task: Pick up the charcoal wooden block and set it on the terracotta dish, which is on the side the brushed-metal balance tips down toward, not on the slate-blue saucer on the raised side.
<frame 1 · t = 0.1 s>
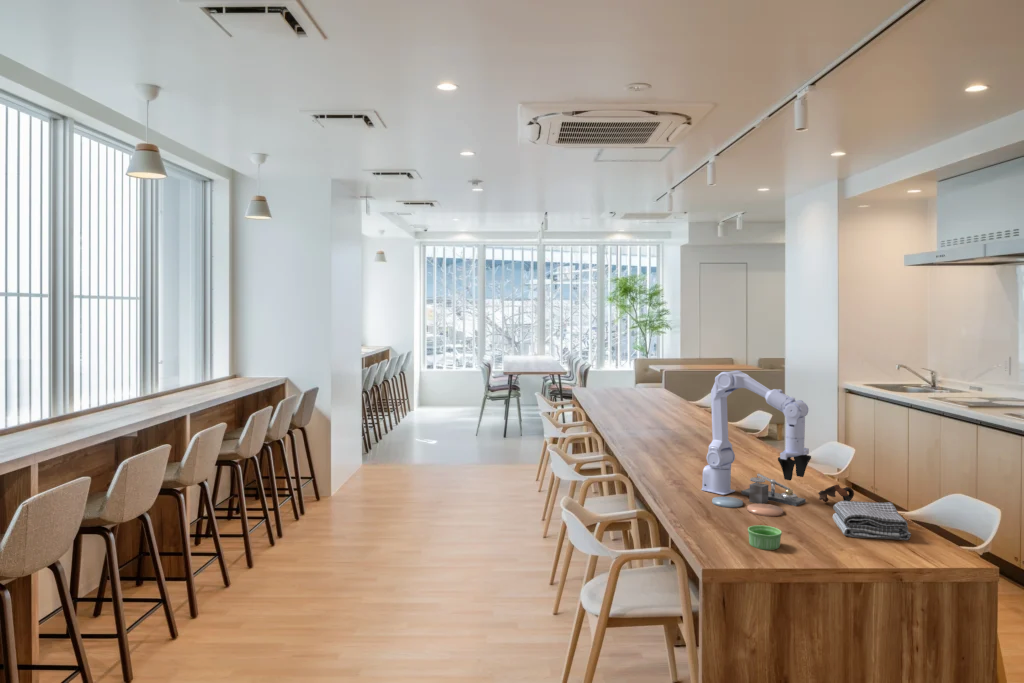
hand: (794, 478, 232), 10 cm above the table, fingers open, 7 cm apart
block: (758, 502, 239), on the table
ramekin: (764, 546, 195), on the table
towel: (869, 533, 208), on the table
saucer: (727, 503, 237), on the table
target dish: (765, 511, 228), on the table
balance: (772, 498, 244), on the table
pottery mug: (838, 506, 235), on the table
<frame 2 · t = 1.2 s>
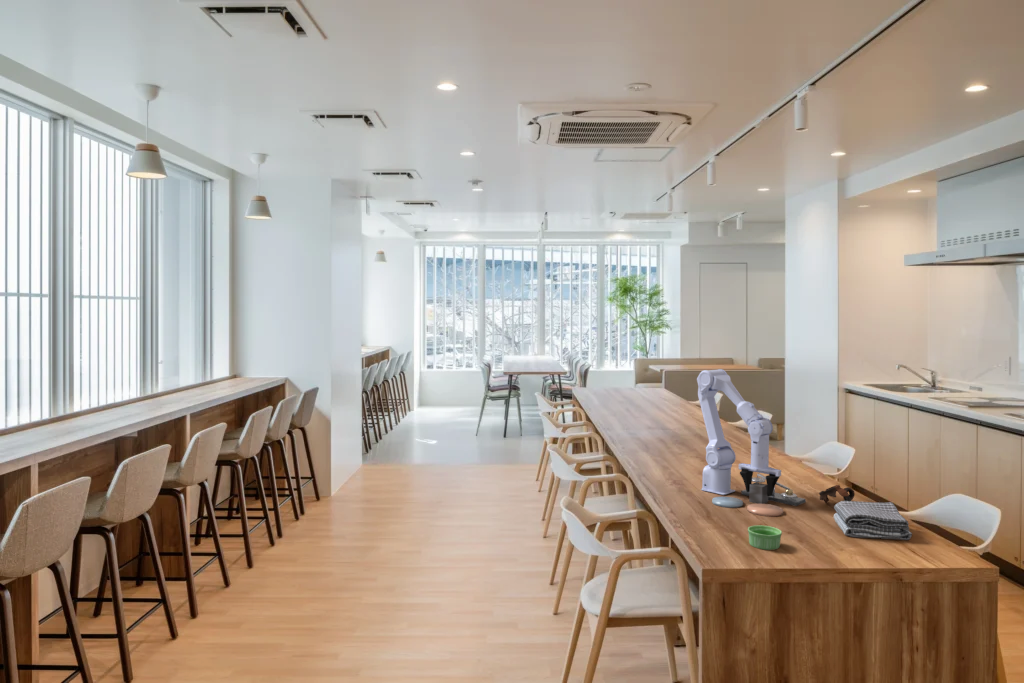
hand: (759, 493, 239), 3 cm above the table, fingers open, 7 cm apart
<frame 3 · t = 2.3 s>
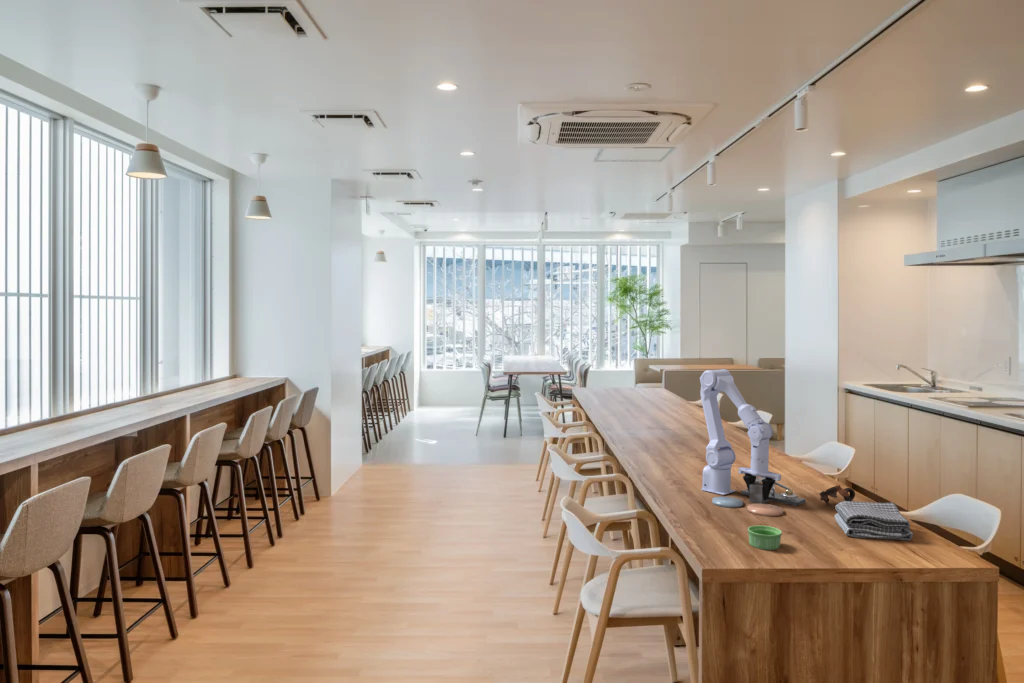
hand: (758, 497, 239), 1 cm above the table, fingers closed on block, 4 cm apart
block: (758, 501, 239), on the table, touching gripper
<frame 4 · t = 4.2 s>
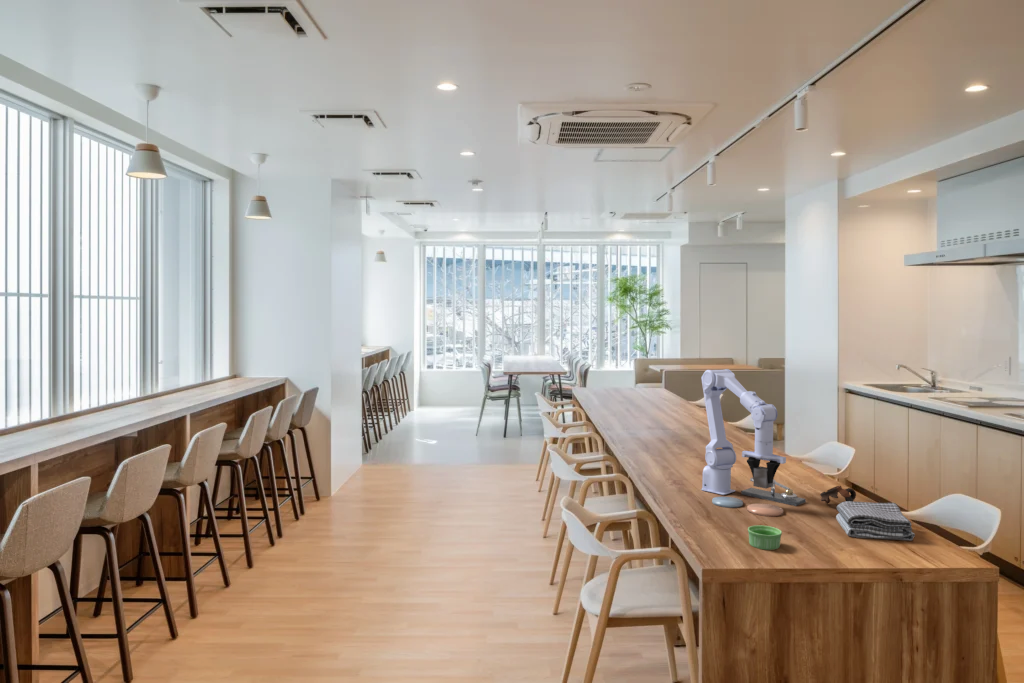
hand: (763, 481, 232), 9 cm above the table, fingers closed on block, 4 cm apart
block: (763, 486, 233), point 7 cm above the table, touching gripper
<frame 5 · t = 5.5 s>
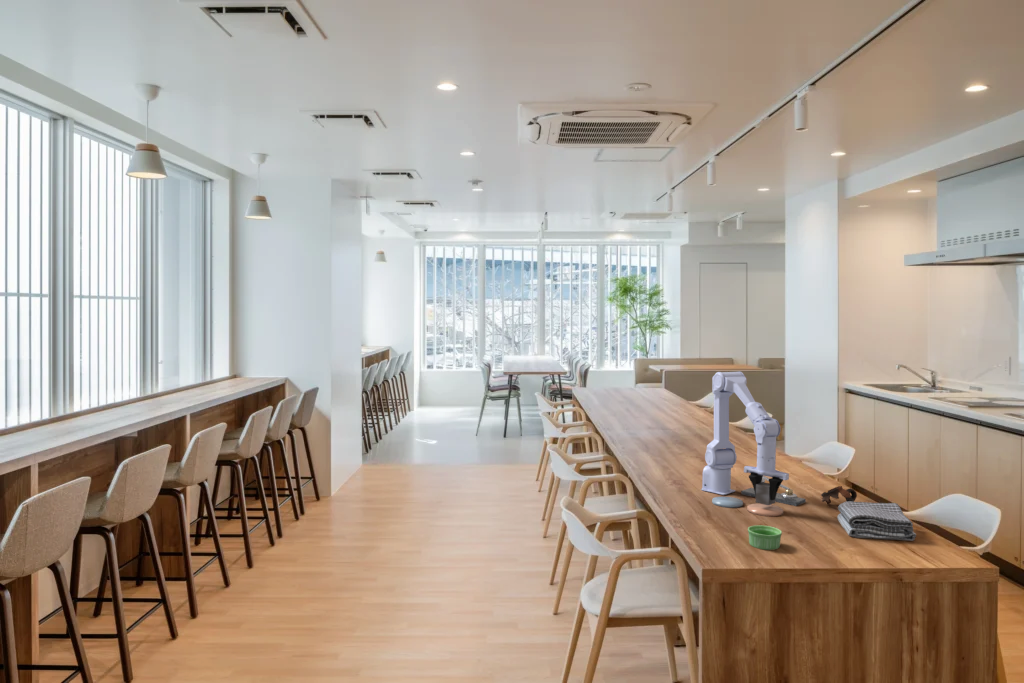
hand: (765, 497, 228), 4 cm above the table, fingers closed on block, 4 cm apart
block: (765, 502, 228), point 3 cm above the table, touching gripper
when the fingers open (4 cm above the table, at t = 6.1 s): block drops 2 cm, resting on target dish.
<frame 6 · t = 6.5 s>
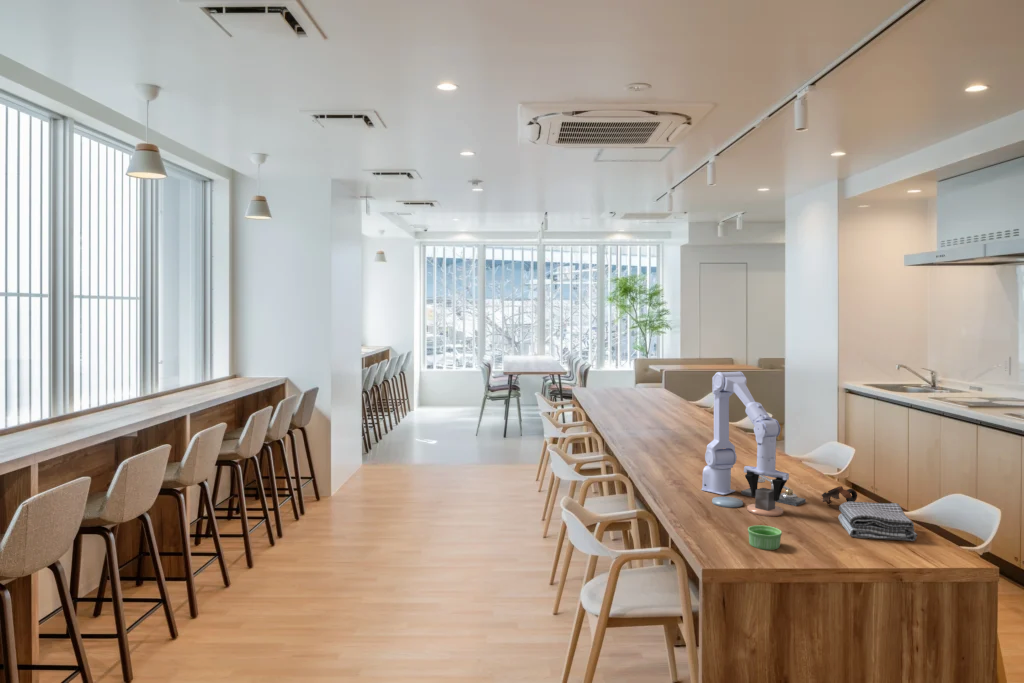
hand: (765, 497, 228), 4 cm above the table, fingers open, 7 cm apart
block: (765, 508, 228), point 1 cm above the table, touching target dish
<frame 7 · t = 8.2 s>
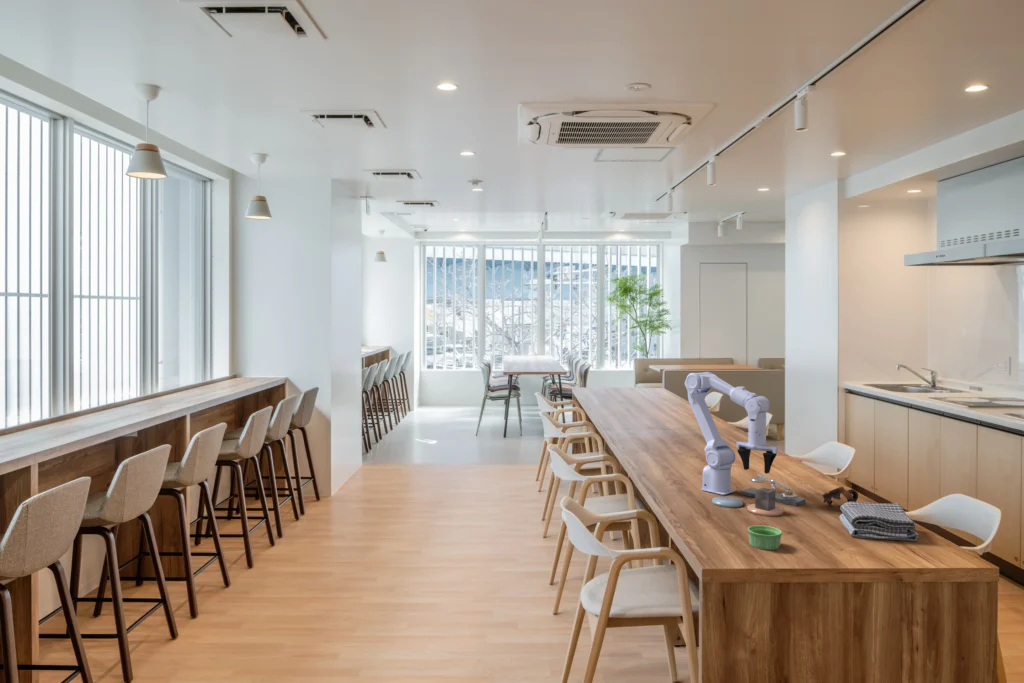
hand: (756, 471, 240), 10 cm above the table, fingers open, 7 cm apart
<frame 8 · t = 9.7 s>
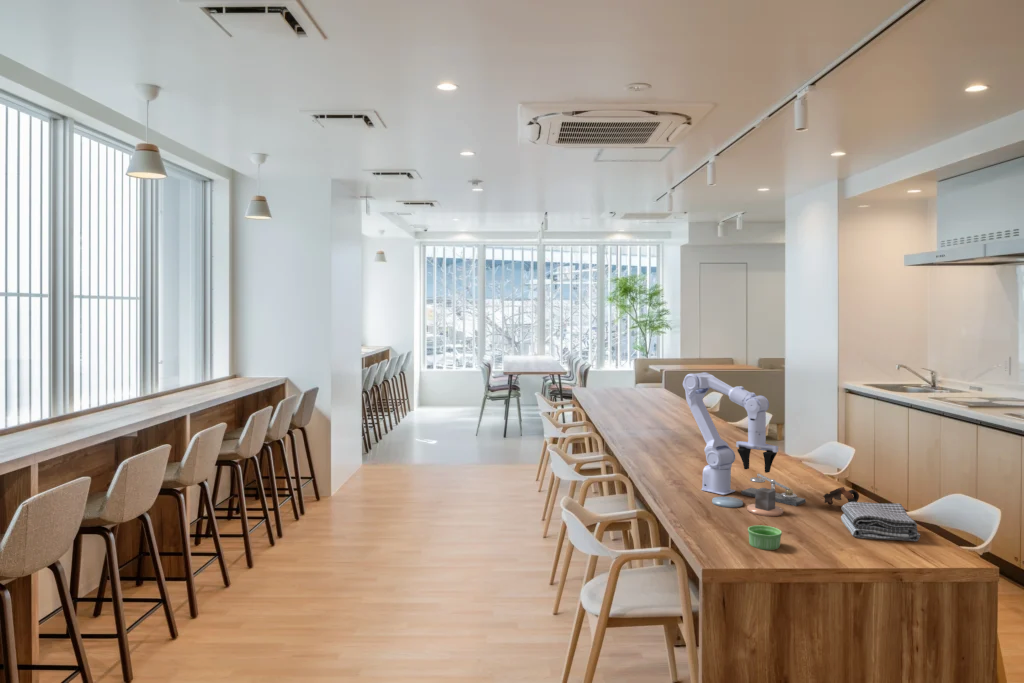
hand: (756, 470, 240), 10 cm above the table, fingers open, 7 cm apart
at the end: block 0.1 cm from the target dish (horizontally); block touching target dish; block tilted 0° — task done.
